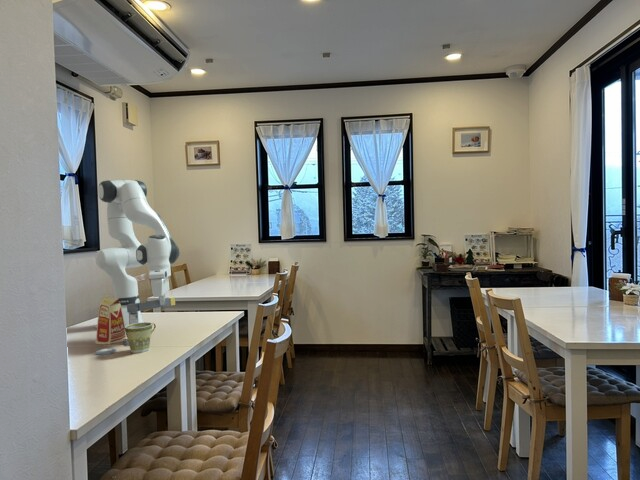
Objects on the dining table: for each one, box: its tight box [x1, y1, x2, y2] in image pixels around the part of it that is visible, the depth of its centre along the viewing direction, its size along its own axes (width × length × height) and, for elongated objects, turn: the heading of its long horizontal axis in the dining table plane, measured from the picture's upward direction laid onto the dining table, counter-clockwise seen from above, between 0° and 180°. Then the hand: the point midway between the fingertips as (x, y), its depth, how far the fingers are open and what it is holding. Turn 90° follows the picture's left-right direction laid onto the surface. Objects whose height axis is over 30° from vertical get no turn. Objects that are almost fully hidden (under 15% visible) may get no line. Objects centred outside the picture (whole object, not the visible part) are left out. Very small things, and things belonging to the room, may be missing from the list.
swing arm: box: [127, 296, 176, 313], centre depth 196 cm, size 20×4×3 cm, turn 135°
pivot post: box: [122, 312, 139, 347], centre depth 190 cm, size 8×8×12 cm
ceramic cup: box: [125, 321, 156, 354], centre depth 178 cm, size 13×10×10 cm
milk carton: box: [95, 294, 127, 345], centre depth 194 cm, size 9×9×20 cm
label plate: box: [95, 348, 117, 355], centre depth 177 cm, size 6×4×1 cm, turn 80°
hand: (162, 304), depth 196 cm, fingers closed
